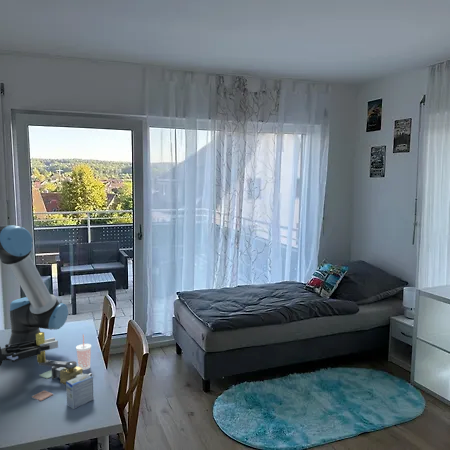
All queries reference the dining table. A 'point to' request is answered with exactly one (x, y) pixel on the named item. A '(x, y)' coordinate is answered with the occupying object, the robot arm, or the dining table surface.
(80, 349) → the beverage cup
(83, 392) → the medicine box
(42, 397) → the closed pad
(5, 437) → the dining table surface
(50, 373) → the open pad
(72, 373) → the valve
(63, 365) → the lever
